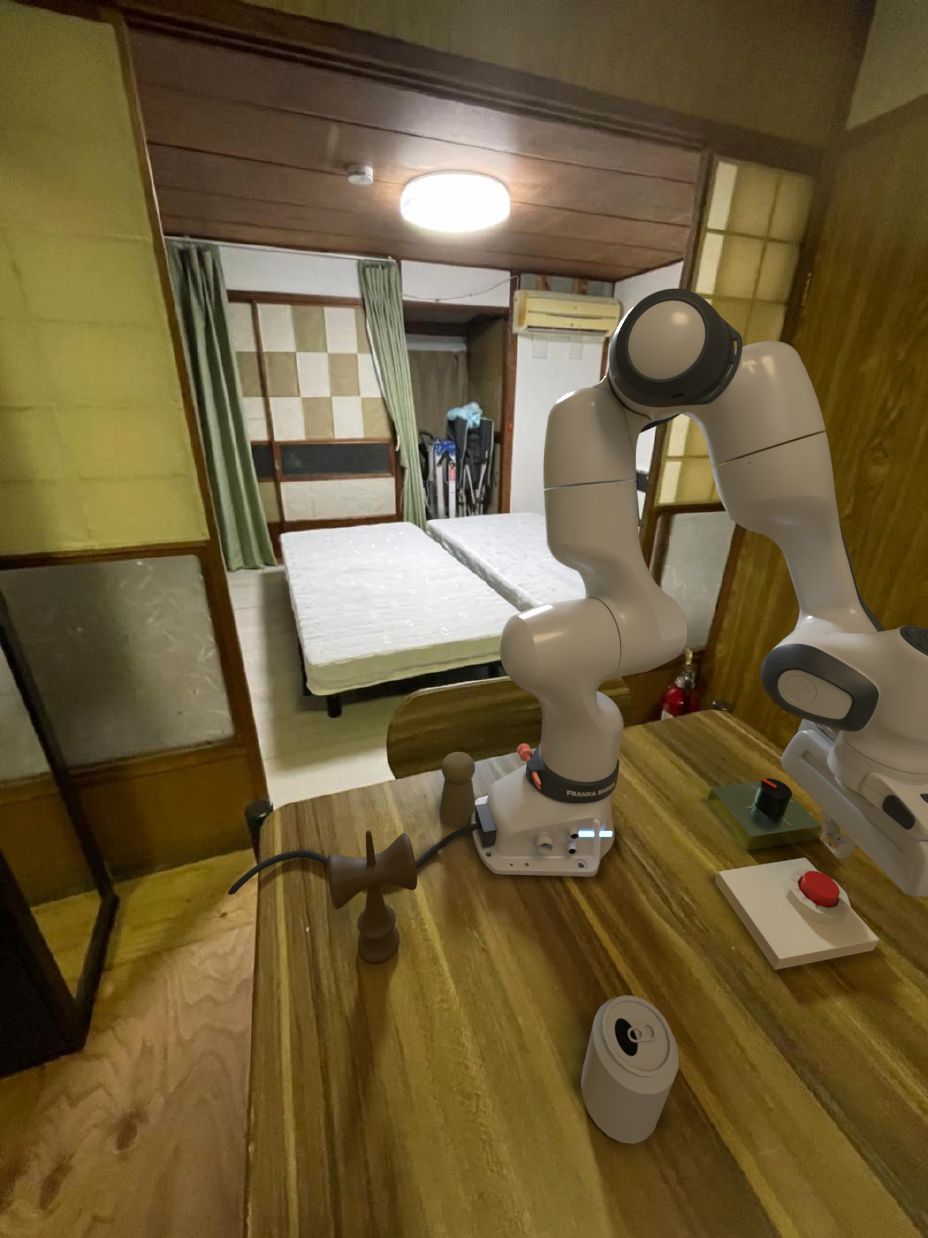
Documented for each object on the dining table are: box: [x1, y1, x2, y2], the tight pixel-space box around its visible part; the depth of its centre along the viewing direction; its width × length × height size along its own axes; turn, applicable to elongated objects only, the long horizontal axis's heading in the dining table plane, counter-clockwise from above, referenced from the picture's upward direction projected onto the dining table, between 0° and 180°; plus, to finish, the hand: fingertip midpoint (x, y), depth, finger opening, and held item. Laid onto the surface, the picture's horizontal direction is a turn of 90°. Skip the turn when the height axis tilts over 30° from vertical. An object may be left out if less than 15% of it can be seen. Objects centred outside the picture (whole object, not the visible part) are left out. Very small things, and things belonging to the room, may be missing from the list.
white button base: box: [714, 857, 880, 971], centre depth 67 cm, size 14×12×4 cm
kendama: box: [326, 829, 418, 964], centre depth 60 cm, size 6×10×20 cm, turn 108°
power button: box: [800, 870, 840, 907], centre depth 67 cm, size 4×4×2 cm
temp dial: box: [755, 777, 793, 815], centre depth 81 cm, size 4×4×4 cm
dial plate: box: [707, 780, 822, 851], centre depth 82 cm, size 12×10×3 cm
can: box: [580, 994, 680, 1145], centre depth 48 cm, size 8×8×12 cm
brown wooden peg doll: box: [439, 751, 476, 827], centre depth 81 cm, size 6×6×11 cm
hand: (833, 848), depth 64 cm, fingers closed
